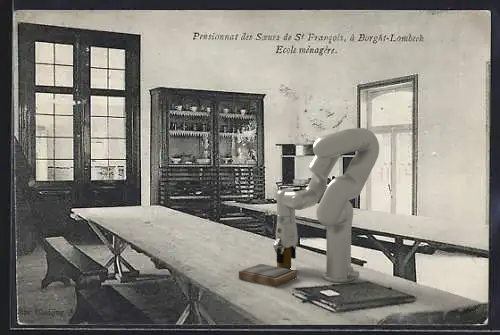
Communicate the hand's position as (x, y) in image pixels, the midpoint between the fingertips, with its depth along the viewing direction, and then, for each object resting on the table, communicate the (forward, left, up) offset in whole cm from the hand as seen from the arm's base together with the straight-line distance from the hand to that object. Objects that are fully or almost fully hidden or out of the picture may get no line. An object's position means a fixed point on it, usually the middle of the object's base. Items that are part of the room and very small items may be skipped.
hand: (286, 260), depth 233 cm
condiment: (0, 0, -4) cm, 4 cm away
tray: (-2, +16, -4) cm, 17 cm away
